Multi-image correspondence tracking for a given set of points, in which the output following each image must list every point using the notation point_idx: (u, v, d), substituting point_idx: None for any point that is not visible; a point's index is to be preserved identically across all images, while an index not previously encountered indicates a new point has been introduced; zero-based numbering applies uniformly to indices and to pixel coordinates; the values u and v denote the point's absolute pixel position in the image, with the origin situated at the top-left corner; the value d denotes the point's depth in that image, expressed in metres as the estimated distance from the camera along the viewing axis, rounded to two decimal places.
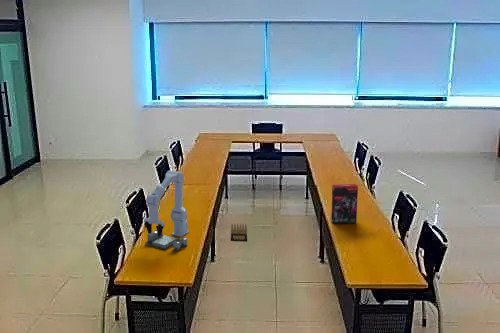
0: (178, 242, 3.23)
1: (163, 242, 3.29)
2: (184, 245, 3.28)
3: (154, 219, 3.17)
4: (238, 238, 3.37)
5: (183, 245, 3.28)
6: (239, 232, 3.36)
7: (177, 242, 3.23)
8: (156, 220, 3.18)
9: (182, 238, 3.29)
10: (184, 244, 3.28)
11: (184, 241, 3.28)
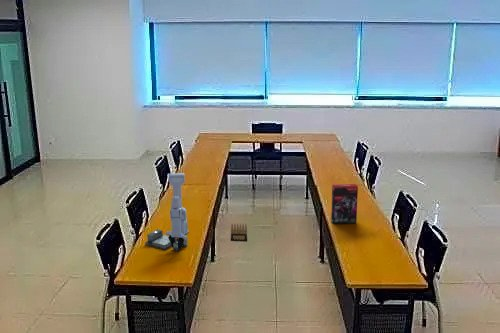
0: None
1: (163, 242, 3.29)
2: (184, 245, 3.28)
3: (177, 232, 3.19)
4: (238, 238, 3.37)
5: (183, 245, 3.28)
6: (239, 232, 3.36)
7: (177, 242, 3.23)
8: (179, 233, 3.20)
9: None
10: (184, 244, 3.28)
11: (184, 241, 3.28)
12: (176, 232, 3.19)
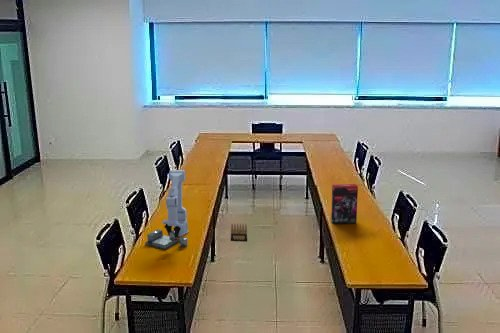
0: None
1: (163, 242, 3.29)
2: (184, 245, 3.28)
3: (173, 221, 3.18)
4: (238, 238, 3.37)
5: (183, 245, 3.28)
6: (239, 232, 3.36)
7: (173, 231, 3.23)
8: (175, 222, 3.19)
9: (182, 238, 3.29)
10: (184, 244, 3.28)
11: (184, 241, 3.28)
12: (172, 221, 3.18)
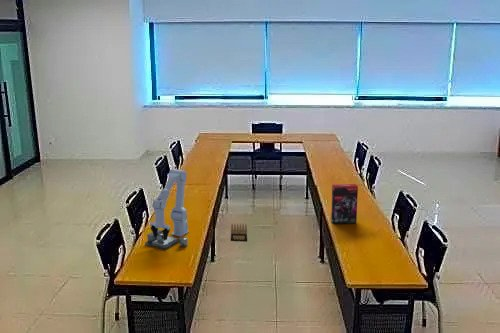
0: (162, 234, 3.29)
1: None
2: (184, 245, 3.28)
3: (160, 223, 3.24)
4: (238, 238, 3.37)
5: (183, 245, 3.28)
6: (239, 232, 3.36)
7: (161, 234, 3.29)
8: (162, 224, 3.25)
9: (182, 238, 3.29)
10: (184, 244, 3.28)
11: (184, 241, 3.28)
12: (160, 223, 3.24)
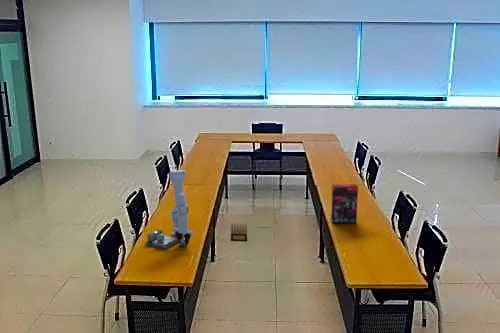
0: (162, 234, 3.29)
1: None
2: (184, 245, 3.28)
3: (184, 229, 3.25)
4: (238, 238, 3.37)
5: (183, 245, 3.28)
6: (239, 232, 3.36)
7: (161, 234, 3.29)
8: (185, 230, 3.26)
9: (182, 238, 3.29)
10: (184, 244, 3.28)
11: (184, 241, 3.28)
12: (183, 228, 3.25)
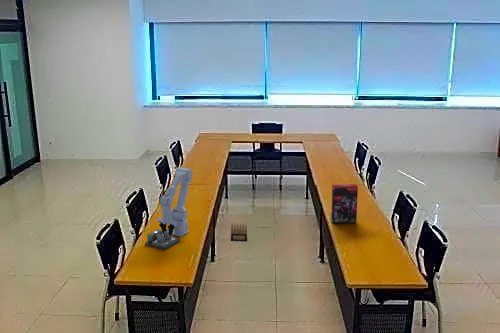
0: (162, 234, 3.29)
1: None
2: (168, 237, 3.34)
3: (167, 219, 3.30)
4: (238, 238, 3.37)
5: (167, 237, 3.33)
6: (239, 232, 3.36)
7: (161, 234, 3.29)
8: (169, 220, 3.31)
9: (166, 230, 3.34)
10: (168, 236, 3.33)
11: (168, 233, 3.33)
12: (167, 219, 3.29)
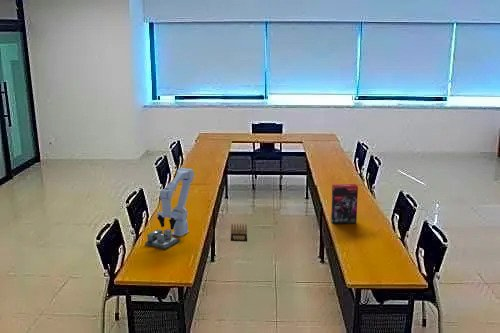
0: (162, 234, 3.29)
1: None
2: (168, 237, 3.34)
3: (167, 213, 3.28)
4: (238, 238, 3.37)
5: (167, 237, 3.33)
6: (239, 232, 3.36)
7: (161, 234, 3.29)
8: (169, 214, 3.29)
9: (166, 230, 3.34)
10: (168, 236, 3.33)
11: (168, 233, 3.33)
12: (166, 212, 3.28)
